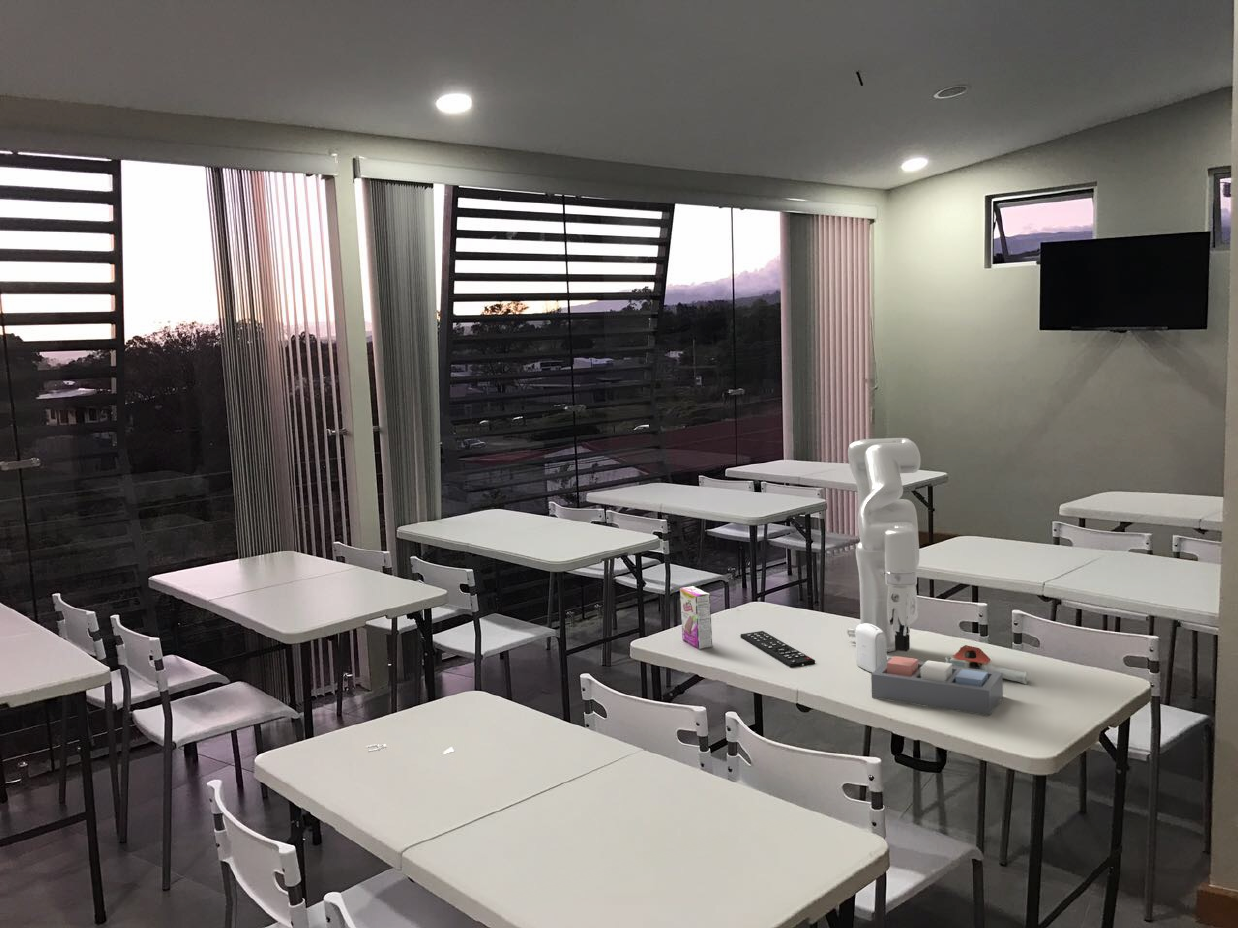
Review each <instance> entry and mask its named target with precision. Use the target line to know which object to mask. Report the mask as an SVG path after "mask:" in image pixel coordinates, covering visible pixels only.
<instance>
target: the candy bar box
mask: <svg viewBox="0 0 1238 928" xmlns="http://www.w3.org/2000/svg"><path fill="white" fill-rule="evenodd" d="M679 597H680V598H679V601H680V614H681V635H682V640H683V641H684V642H686V643H688V644H689V645H690V646H692V647H694V648H696V649H698V650H703V649H709V648H712V647H713V635H712V614H711V613H712V610H711V594H710V593H709V592H706V591H705V590H702V589H700V588H699V587H696V586H693V585H692V586H691V585H690V586H685V587H680V588H679Z"/></svg>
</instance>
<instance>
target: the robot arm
mask: <svg viewBox="0 0 1238 928" xmlns="http://www.w3.org/2000/svg"><path fill="white" fill-rule="evenodd" d="M919 450H920V449H919V448H918V446H917V444H916V443H915V442H914V441H913V440H910V439H909V438H908V437H892V438H891V437H889V438H888V437H887V438H886V437H885V438H863V439H859V440H855V441H853V442H851V443H850V444H849V446H848V449H847V459H848V464H849V468H850V470H851V473H852V475H853V477H854V480H855V483H856V487H857V488H856V489H857V504H858V505H857V508H858V511H857V528H858V529H857V530H858V537H859V542H858V543H857V544H856V545H855V558H856V564H857V569H858V579H859V604H860V606H859V609H860V610H859V611H860V612H859V613H860V615H859V616H860V624H864V623H868V624H872V625H875V626H876V627H878V628H880V629H881V630H882V631H883V632H884V633H885V635H886V644H887V653H890V652H894V651H899V652H908V651H909V650H910V647H911V646H910V645H911V644H910V643H911V642H910V639H911V638H910V631H911V628H910V627H911V624H913V623H914V622H916V620H917V619H918V618H919V606H918V593H917V584H918V573H917V572H918V570H917V568H918V566H919V564H920V542H919V525H918V514H917V509H916V507H915V505H914V503H913V501H911V500H910V499H907V498H901V497H902V496H903V493H904V486H903V481H902V477H901V474H914V473H917V472H919V470H920V467H921V463H922V462H921V459H922V458H921V453H920V451H919ZM855 631H856V628H849V627H848V628H847V631H846V632H847V635H848V638H855Z"/></svg>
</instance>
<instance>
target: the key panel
mask: <svg viewBox="0 0 1238 928" xmlns="http://www.w3.org/2000/svg"><path fill="white" fill-rule="evenodd" d="M892 658H893V657H889V658H887V660H886V661H885V662H884V663H883V664H882V665H881V666H880V667H879V668H878V669H876V670H875V671H874V672H873V673H872V672H871V675H870V676H871V698H873V699H879V700H886V701H893V702H897V703H898V702H900V703H903V704H904V703H905V704H911V705H919V706H925V707H931V708H938V709H943V710H949V711H954V712H955V711H957V712H961V713H968V714H969V713H970V714H976V715H982V716H988V717H989V716H990V715H991V714H992V712H993V711H994V709H995V708H996V707H997V705H998V704H999V703H1000V701H1001V700H1002V698H1003V696H1004V694H1003V693H1004V688H1003V687H1004V686H1003V685H1004V684H1003V682H1004V680H1003V679H1004V678H1003V673H1001V672H993V671H986V670H979V668H972V667H970V668H963V667H956V666H952V675H951V677H950V678H949V679H948V680H947V681H946V682H944V681H936V680H929V679H922V678H921V667H922V666H923V665H924V664H925V663H926V662H927V661H925V662H924V661H918V670H917V671H916V672H915V673H914V674H913V675H912V676H911V677H908V676H901V675H894V674H887V662H888V661H889V660H891V659H892ZM962 669H965V670H973V671H980V672H987V673H988V680H987V681H986V683H985V684H984V685H983V686H982V687H979V686H972V685H965V684H958V683H956V676H957V674H958V673H959V672H960V671H961V670H962Z"/></svg>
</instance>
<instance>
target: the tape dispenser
mask: <svg viewBox="0 0 1238 928" xmlns="http://www.w3.org/2000/svg"><path fill="white" fill-rule="evenodd" d="M944 659H945V663H952V666H956V667H963V668H978V670H986V671H993V672H1001V673H1003V679H1005V680H1008V681H1011V682H1016V683H1017V682H1018V683H1021V684H1023V685H1027V680H1028V672H1027V671H1020V670H1015V669H1011V668H1006V667H998V666H993V665H992V663H991V658H990V657H989V656H988V655H987V654H986V653H985V652H984V651H983V650H982V649H981V648H979V647H977V646H971V645H966V644H965V645H963V646H961V647H960V648H959V650H958V651H957V652H956V653H955V654H954V655H952V656H946V657H945V658H944Z"/></svg>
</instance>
